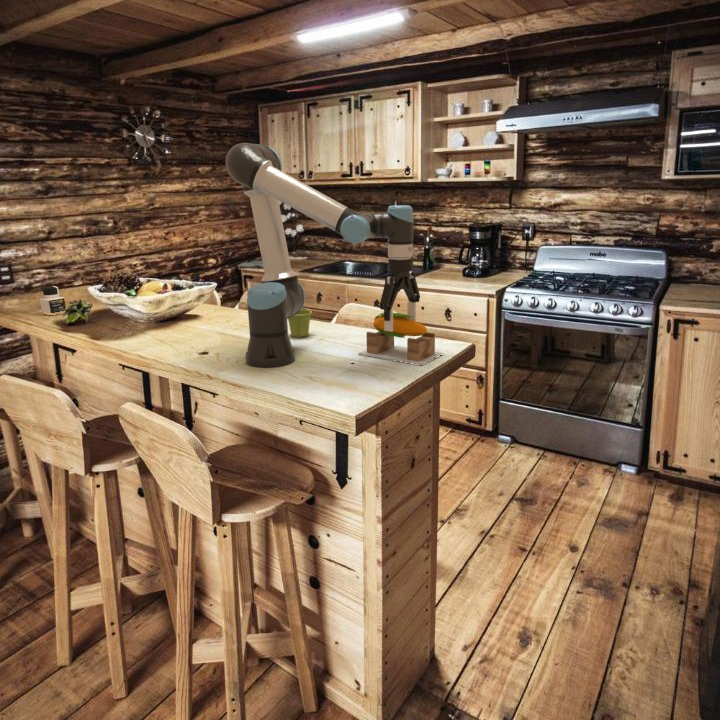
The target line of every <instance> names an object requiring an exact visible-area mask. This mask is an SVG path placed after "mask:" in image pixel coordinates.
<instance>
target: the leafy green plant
mask: <svg viewBox="0 0 720 720" xmlns="http://www.w3.org/2000/svg"><path fill="white" fill-rule="evenodd" d="M68 303H69V305H68V306H67V308H66V309H64V310H65V312H64V313H62V314H61V315H62V317H63V318H64V317H65V316H67V317H66V319H65V321H64V324H65V323H66V324H67V325H68V324H70V323H71V324H72V323H74V322H76V321H75V320H76V319H79V320H82V319H83V320H85V323H86V322H87V323H88V318H89V314H90V313H91V309H92V308H93V305H94V304H93V303H92V302H86V301H84V300H82V299H78V300H75V299H74V300H72V301H69V302H68ZM86 313H87V314H86Z"/></svg>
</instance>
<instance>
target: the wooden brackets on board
mask: <svg viewBox="0 0 720 720" xmlns="http://www.w3.org/2000/svg"><path fill="white" fill-rule="evenodd" d="M406 341H407V346H406V347H407V360H413V361H421V360H423V359H425V358H427V357H429V356H431V355H433V354H435V352H436V351H435V350H436V342H435V341H436V333H435V332H428V331H427V332H426V333H424V334H423V335H421V336H418V337H417V338H413V337H408V338H407V339H406ZM394 345H395V336H389V335H385V334H383V333H381V332H379V331H377V332H371V331H367V332H366V350H367V353H372V354H379V353H382V352H384V351H386V350H389V349H391V348H394Z"/></svg>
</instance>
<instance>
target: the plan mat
mask: <svg viewBox="0 0 720 720" xmlns="http://www.w3.org/2000/svg"><path fill="white" fill-rule="evenodd" d="M358 354H359V355H358ZM441 354H443V355H444V352H438V351H435V354H433V355H431V356H429V357H427V358H425V359H423V360H421V361H413V360H407V346H401V345H395V344H394V348H391V349H389V350H386V351H384V352H382V353H379V354H372V353H367V349H365V350H362V351H359V352H358V353H357V355H358V356H361V355H365V356H364V357H367V356H371V357H370V358H373V357H377V358H376V359H378V358H383V359H382V360H384V359H389V360H388V361H390V360H396V361H402V362H407V363H413V364H418V365H422V366H424V365H425V364H424V363H426V362H428V361H430V360H432V359H434V358H436V357H437V356H439V355H441ZM436 359H437V358H436ZM434 360H435V359H434ZM432 361H433V360H432ZM430 362H431V361H430ZM407 363H406V364H407ZM428 363H429V362H428ZM423 364H424V365H423ZM426 364H427V363H426ZM418 365H417V366H418Z"/></svg>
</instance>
